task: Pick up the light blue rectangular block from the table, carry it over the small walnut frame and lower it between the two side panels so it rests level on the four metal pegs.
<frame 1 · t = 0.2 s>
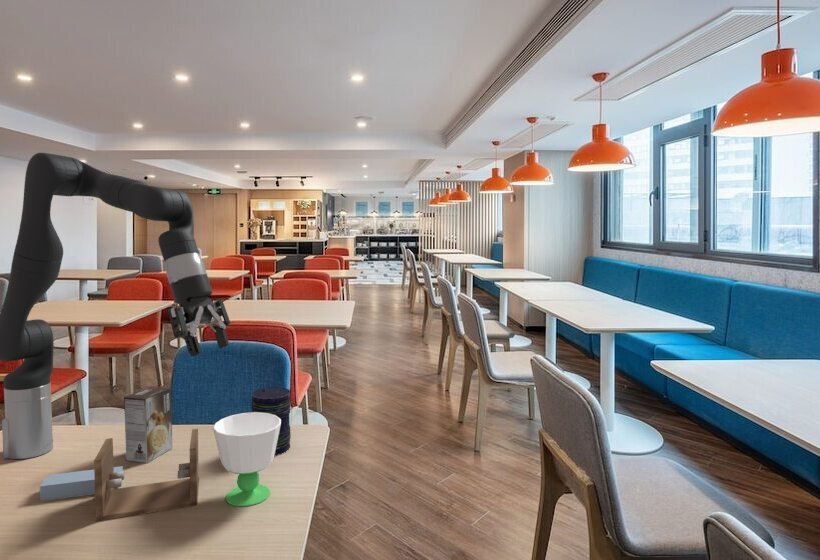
hand: (210, 351, 104), 31 cm above the table, tool tilted 20°, fingers open, 8 cm apart
light blue rectangular block: (83, 491, 106), on the table
cup: (248, 496, 105), on the table
coffee box: (149, 455, 124), on the table
dark blue cylinder: (271, 449, 129), on the table
peg frame: (151, 499, 103), on the table
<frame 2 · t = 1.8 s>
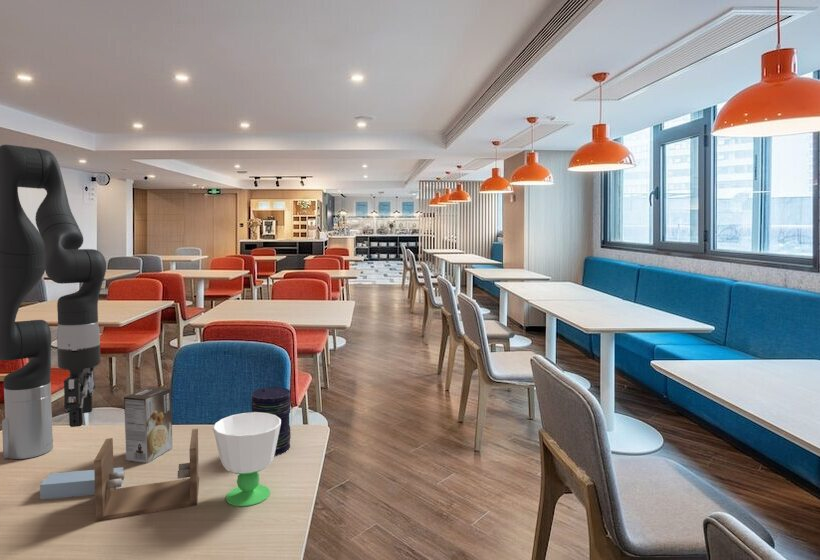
hand: (81, 419, 105), 16 cm above the table, tool pointing down, fingers open, 8 cm apart
nothing on the table moved.
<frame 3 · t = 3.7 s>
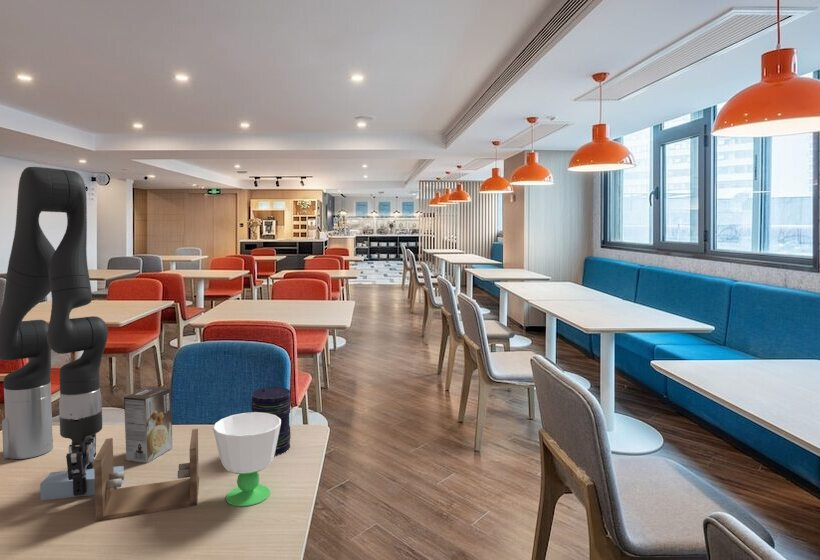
hand: (83, 487, 106), 1 cm above the table, tool pointing down, fingers closed on light blue rectangular block, 5 cm apart
light blue rectangular block: (84, 490, 106), on the table, touching gripper
everything else where it was.
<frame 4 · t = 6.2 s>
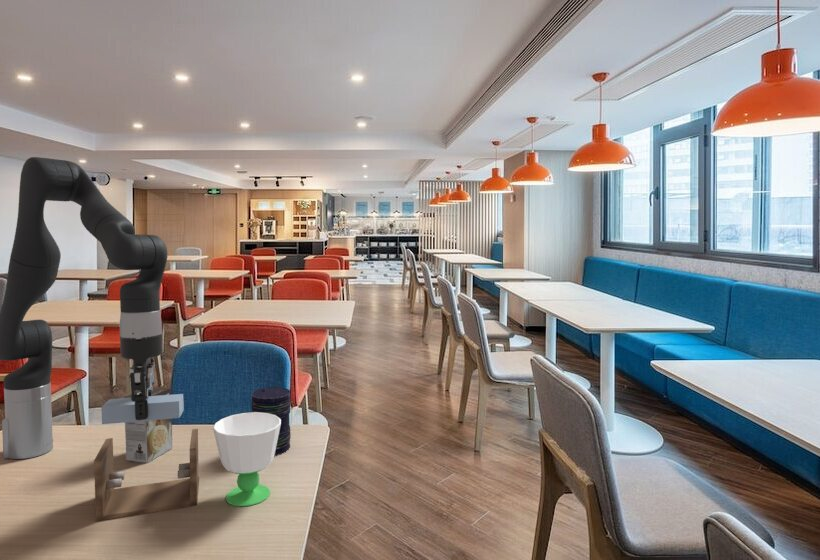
hand: (144, 414, 101), 18 cm above the table, tool pointing down, fingers closed on light blue rectangular block, 5 cm apart
light blue rectangular block: (144, 416, 102), point 18 cm above the table, touching gripper
everything else where it was.
when the fingers open (7 cm above the table, at t = 8.7 s): light blue rectangular block stays where it is, resting on peg frame.
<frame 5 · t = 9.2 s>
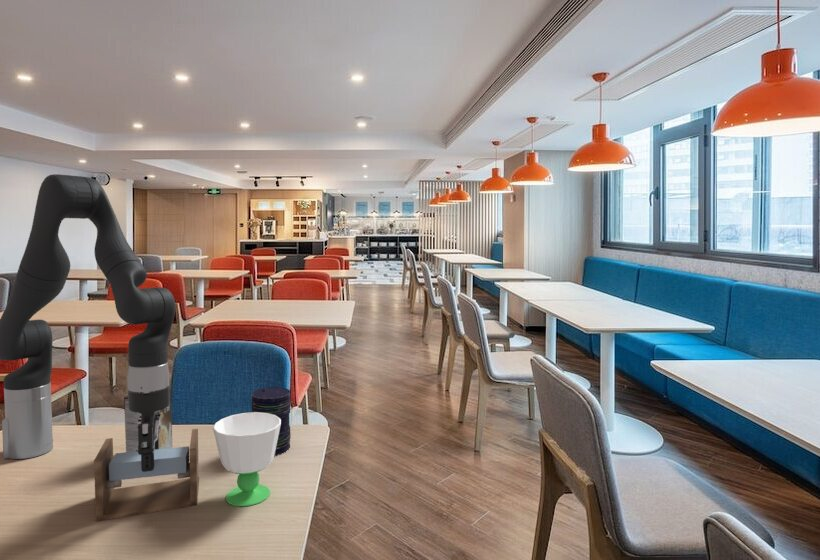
hand: (150, 461, 102), 8 cm above the table, tool pointing down, fingers open, 8 cm apart
light blue rectangular block: (151, 471, 103), point 6 cm above the table, touching peg frame
everything else where it was.
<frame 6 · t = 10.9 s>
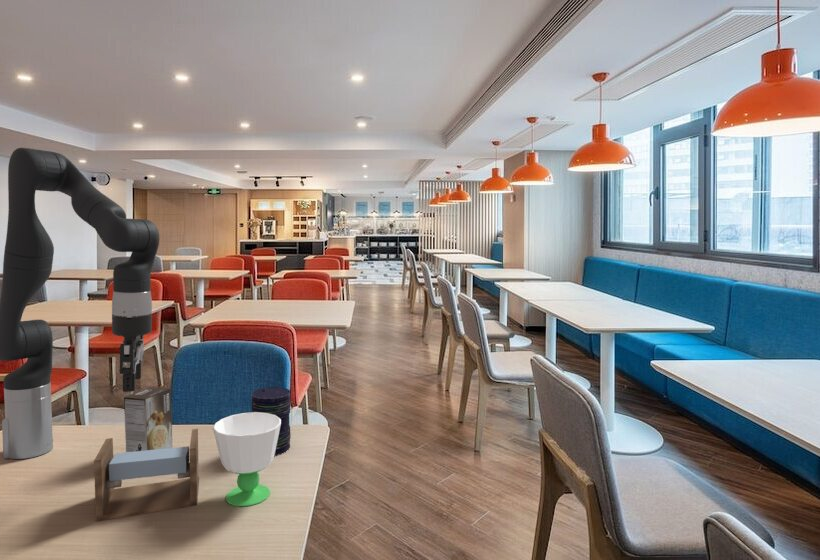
hand: (132, 384, 108), 22 cm above the table, tool pointing down, fingers open, 8 cm apart
nothing on the table moved.
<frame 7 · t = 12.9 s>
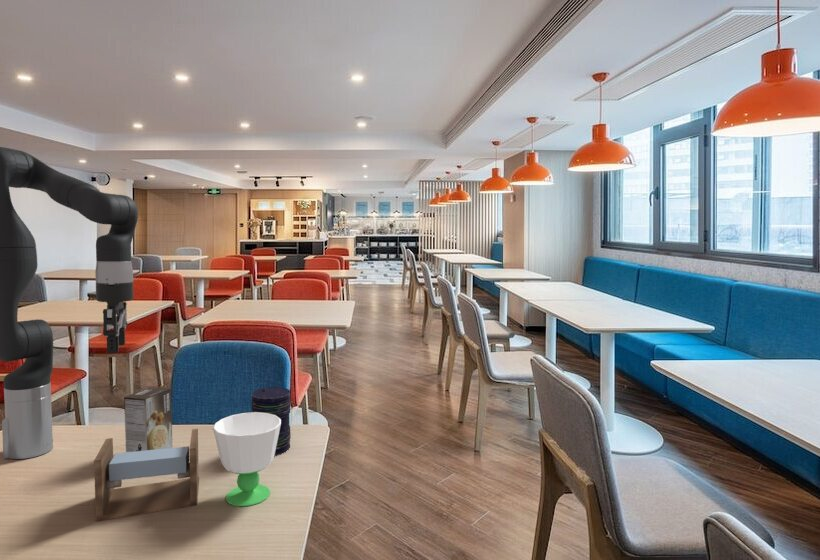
hand: (116, 349, 116), 28 cm above the table, tool pointing down, fingers open, 8 cm apart
nothing on the table moved.
at the end: light blue rectangular block 0.1 cm off-centre on the peg frame, point 6.0 cm above the peg frame's base; light blue rectangular block tilted 0°; the gripper is holding nothing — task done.
